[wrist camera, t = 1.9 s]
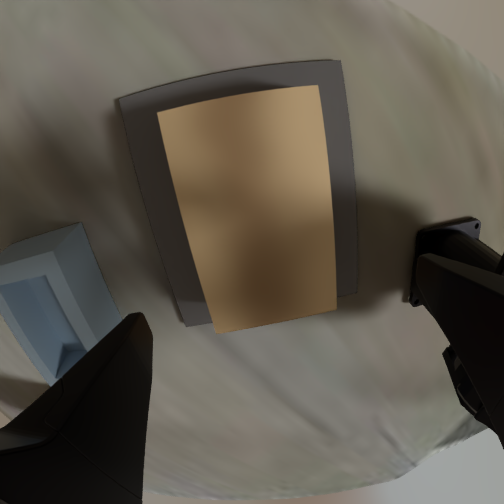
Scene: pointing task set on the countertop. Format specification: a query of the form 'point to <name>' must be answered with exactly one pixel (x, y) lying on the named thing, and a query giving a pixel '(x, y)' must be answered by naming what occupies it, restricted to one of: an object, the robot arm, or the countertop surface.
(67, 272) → the dish
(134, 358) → the robot arm
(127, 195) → the countertop surface
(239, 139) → the board
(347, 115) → the mat
